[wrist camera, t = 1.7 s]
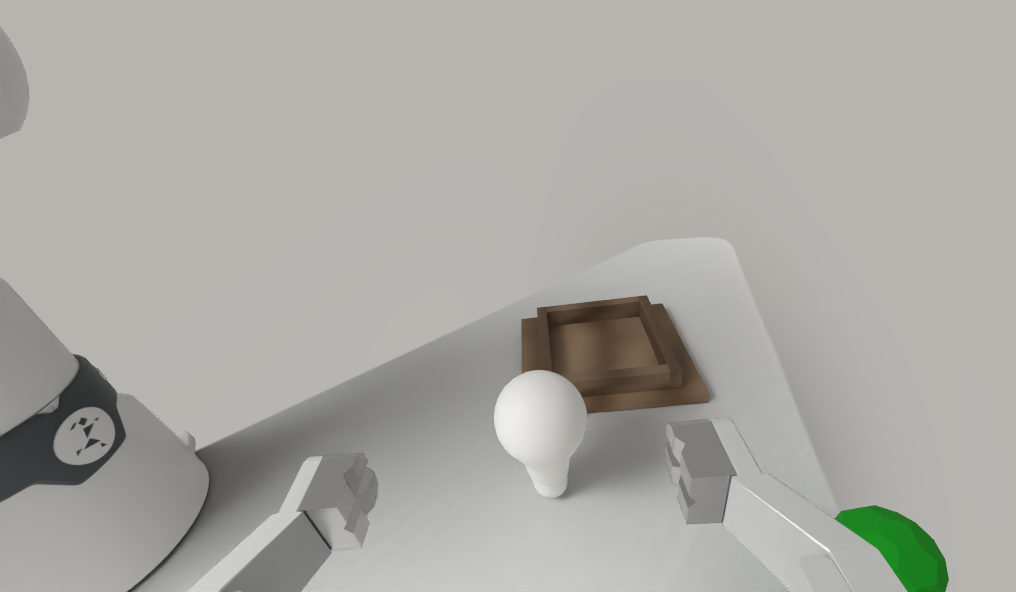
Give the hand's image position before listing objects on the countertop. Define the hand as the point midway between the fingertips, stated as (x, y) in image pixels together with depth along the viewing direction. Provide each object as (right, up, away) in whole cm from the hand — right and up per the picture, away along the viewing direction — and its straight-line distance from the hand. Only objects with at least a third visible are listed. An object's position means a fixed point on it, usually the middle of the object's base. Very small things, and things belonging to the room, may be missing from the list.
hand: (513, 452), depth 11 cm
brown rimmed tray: (+9, -2, +32) cm, 34 cm away
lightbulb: (+3, -11, +21) cm, 24 cm away
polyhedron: (+21, -12, +13) cm, 28 cm away
